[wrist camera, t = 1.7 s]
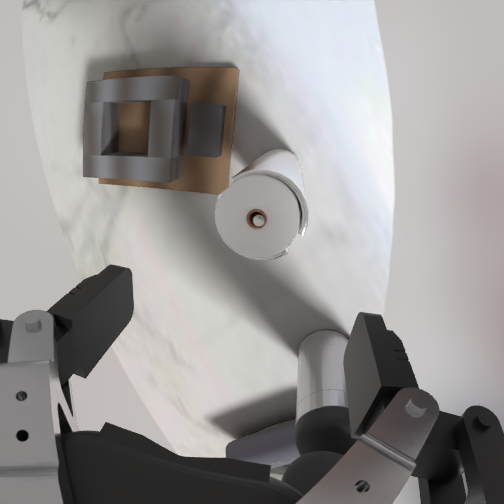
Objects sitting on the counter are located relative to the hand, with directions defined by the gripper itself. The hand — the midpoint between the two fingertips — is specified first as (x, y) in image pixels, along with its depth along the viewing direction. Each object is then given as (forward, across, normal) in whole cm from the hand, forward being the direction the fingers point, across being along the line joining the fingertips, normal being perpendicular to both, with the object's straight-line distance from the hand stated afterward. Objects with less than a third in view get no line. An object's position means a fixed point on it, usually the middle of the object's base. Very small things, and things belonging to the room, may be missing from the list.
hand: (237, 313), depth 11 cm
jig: (+36, +18, -4) cm, 41 cm away
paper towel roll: (+36, +1, 0) cm, 36 cm away
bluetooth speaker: (+36, -9, +53) cm, 65 cm away
